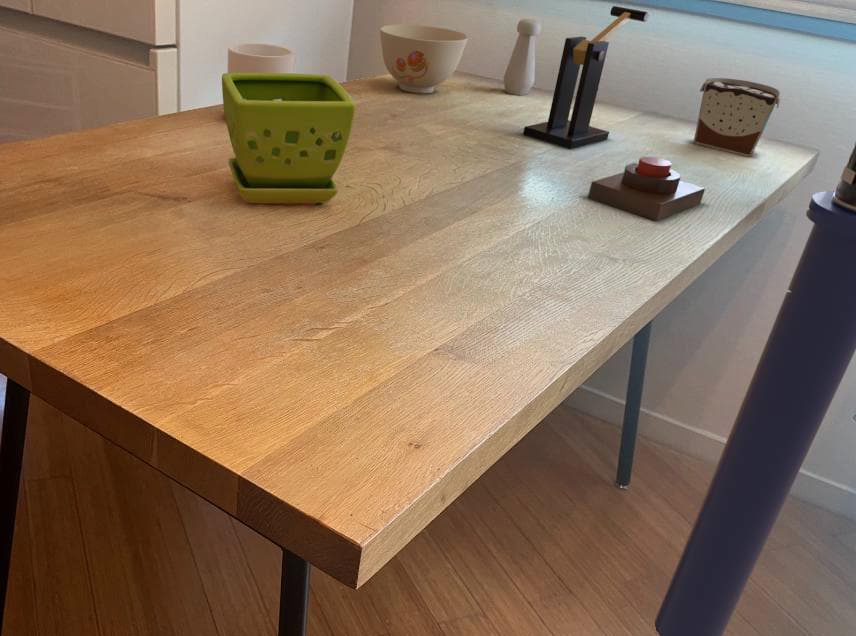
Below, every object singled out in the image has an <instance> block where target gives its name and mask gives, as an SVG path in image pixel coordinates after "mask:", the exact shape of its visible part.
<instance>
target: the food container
mask: <svg viewBox="0 0 856 636" xmlns="http://www.w3.org/2000/svg"><path fill="white" fill-rule="evenodd" d="M699 92H700V93H701V92H703V93H702V98H701V102H700V107H699V113H698V118H697V123H696V126H695V127H696V128H695V133H694V137H693V143H694V144H696V145H701V146H704V147H709V148H713V149H717V150H720V151H725V152H729V153H733V154H736V155H741V156H745V157H748V158H750V157H752V156H753V154H754V153H755V150H756V148H757V145H758V143H759V141H760V140H761V137H762V135H763V132H764V130H765V128H766V127H767V123H768V121H769V119H770V117H771V115H772V113H773V111H774V108H775V107H776V109H778V108H780V104H781V97H782V96H781V95H780V94H781V91H780V89H778V88H775V87H773V86H771V85H768V84H764V83H759V82H754V81H750V80H744V79H737V78H728V77H709V78H706V80H705V82H703V83H702V85H701V87H700V89H699Z"/></svg>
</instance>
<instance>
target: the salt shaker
mask: <svg viewBox="0 0 856 636" xmlns="http://www.w3.org/2000/svg"><path fill="white" fill-rule="evenodd" d="M541 29H542V23H541V22H540V21H539V20H538V19H533V18H522V19H520V20H519V21H518V22H517V26H516V32H517V33H518V36H517V39H516V42H515V44H514V48H513V50H512V53H511V56H510V58H509V62H508V64H507V67H506V70H505V72H504V75H503V84H504V85H503V86H504V89H505V90H504V91H505V92H506V93H508V94H510V95H515V96H526V95H528V94H529V92H530V90H531V88H532V87H533V86H534V83H535V76H536V75H535V74H536V73H535V72H536V71H535V70H536V69H535V68H536V66H535V65H536V36H538V35H539V34H540V33H541Z"/></svg>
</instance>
